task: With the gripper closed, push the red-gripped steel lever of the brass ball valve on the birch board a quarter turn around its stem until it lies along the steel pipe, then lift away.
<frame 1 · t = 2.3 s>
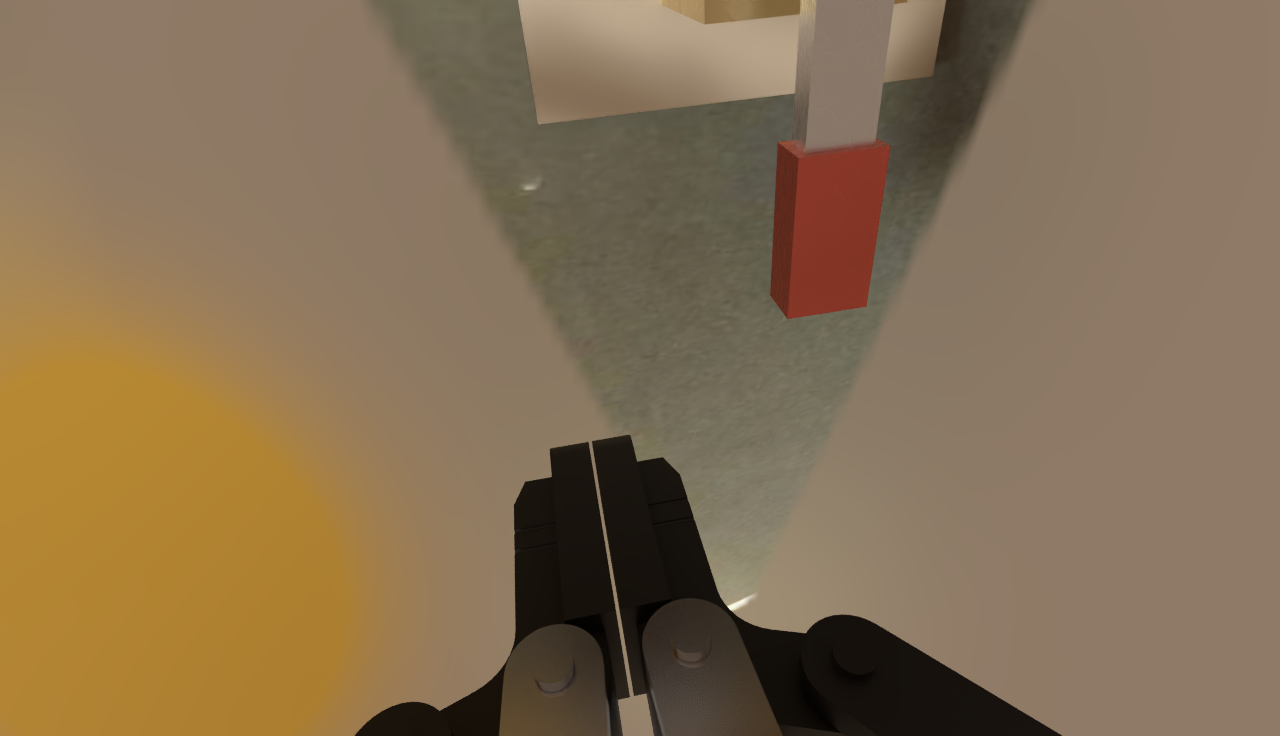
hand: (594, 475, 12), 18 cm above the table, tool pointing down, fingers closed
lever: (837, 98, 17), point 10 cm above the table, hinge at 0.0°
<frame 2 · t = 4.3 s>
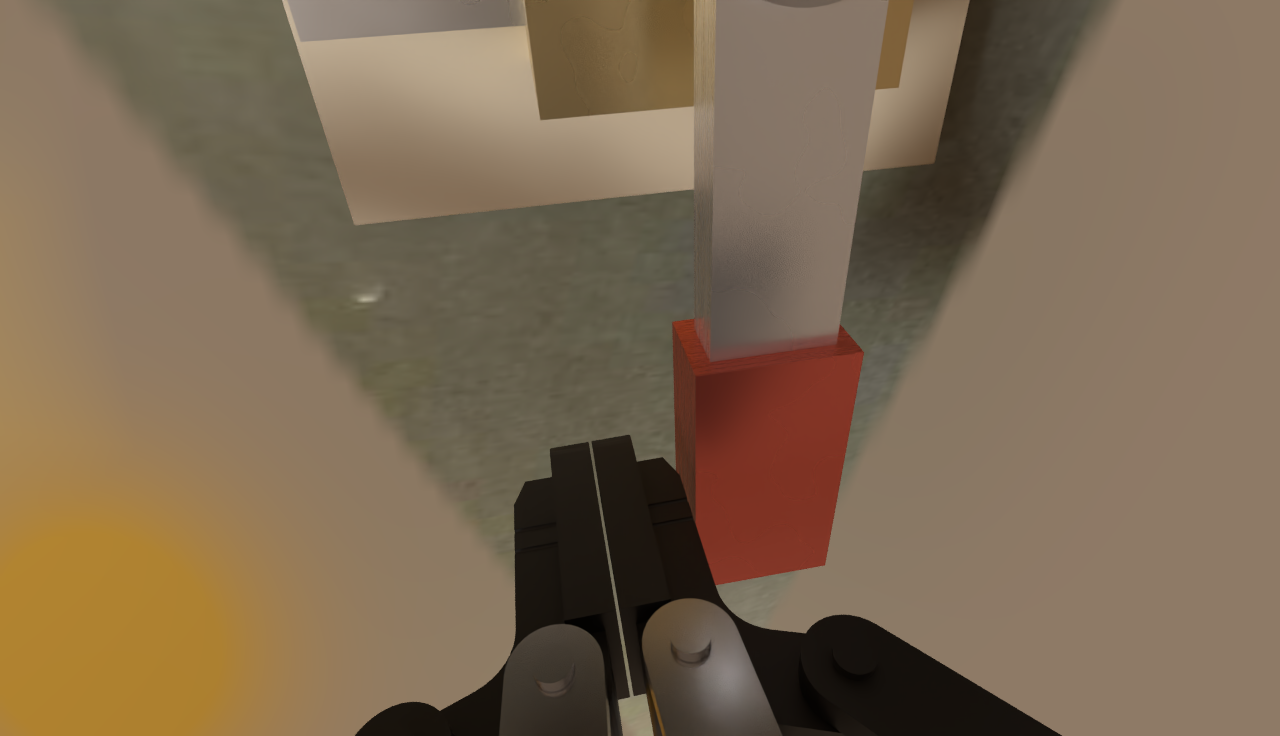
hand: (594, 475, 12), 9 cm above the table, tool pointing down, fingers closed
lever: (768, 267, 9), point 10 cm above the table, hinge at 0.2°, touching gripper
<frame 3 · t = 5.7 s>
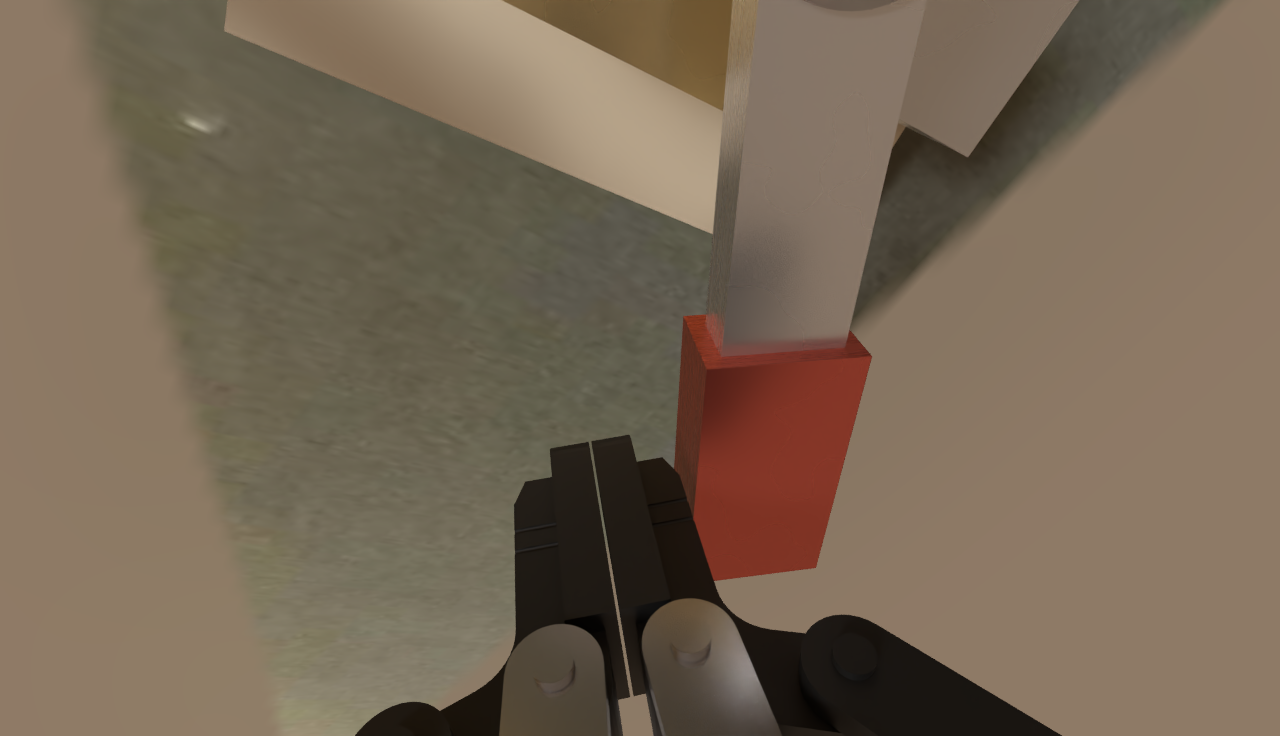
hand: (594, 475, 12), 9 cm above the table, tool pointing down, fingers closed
lever: (784, 266, 9), point 10 cm above the table, hinge at 24.8°, touching gripper
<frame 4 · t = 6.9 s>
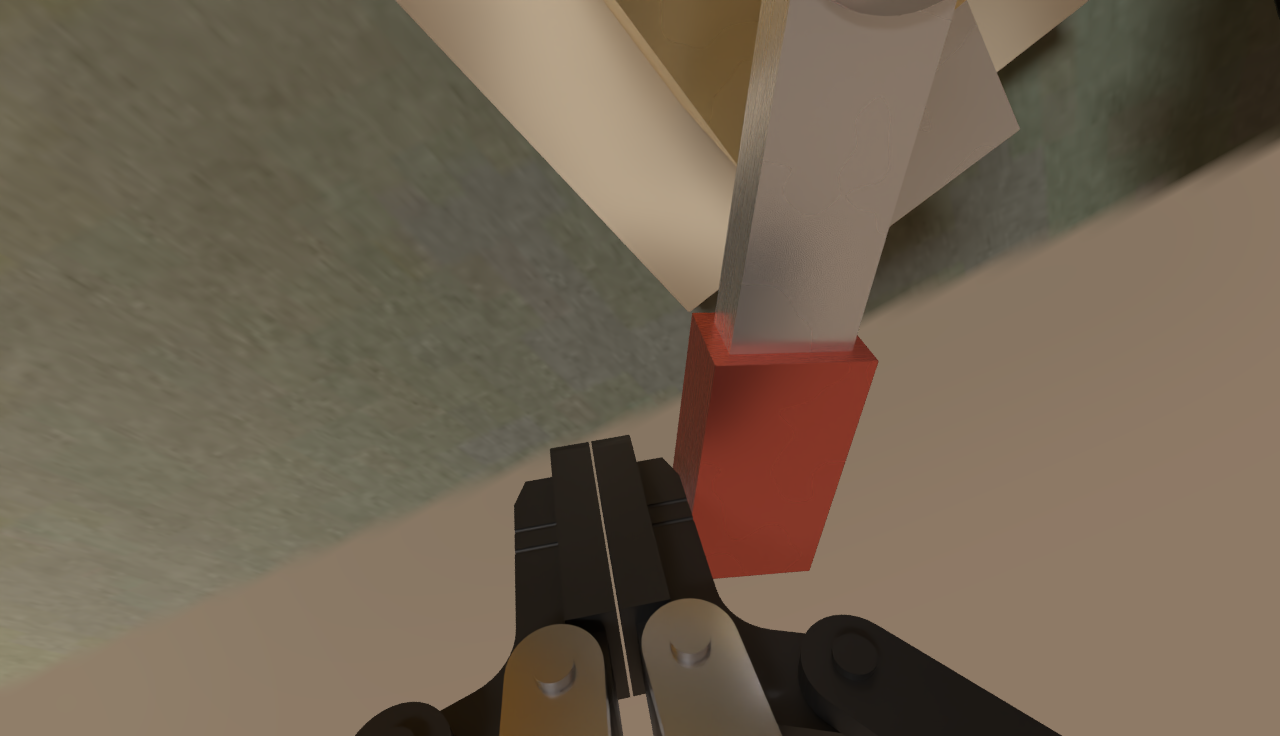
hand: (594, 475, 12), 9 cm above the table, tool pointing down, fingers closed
lever: (796, 267, 9), point 10 cm above the table, hinge at 46.8°, touching gripper
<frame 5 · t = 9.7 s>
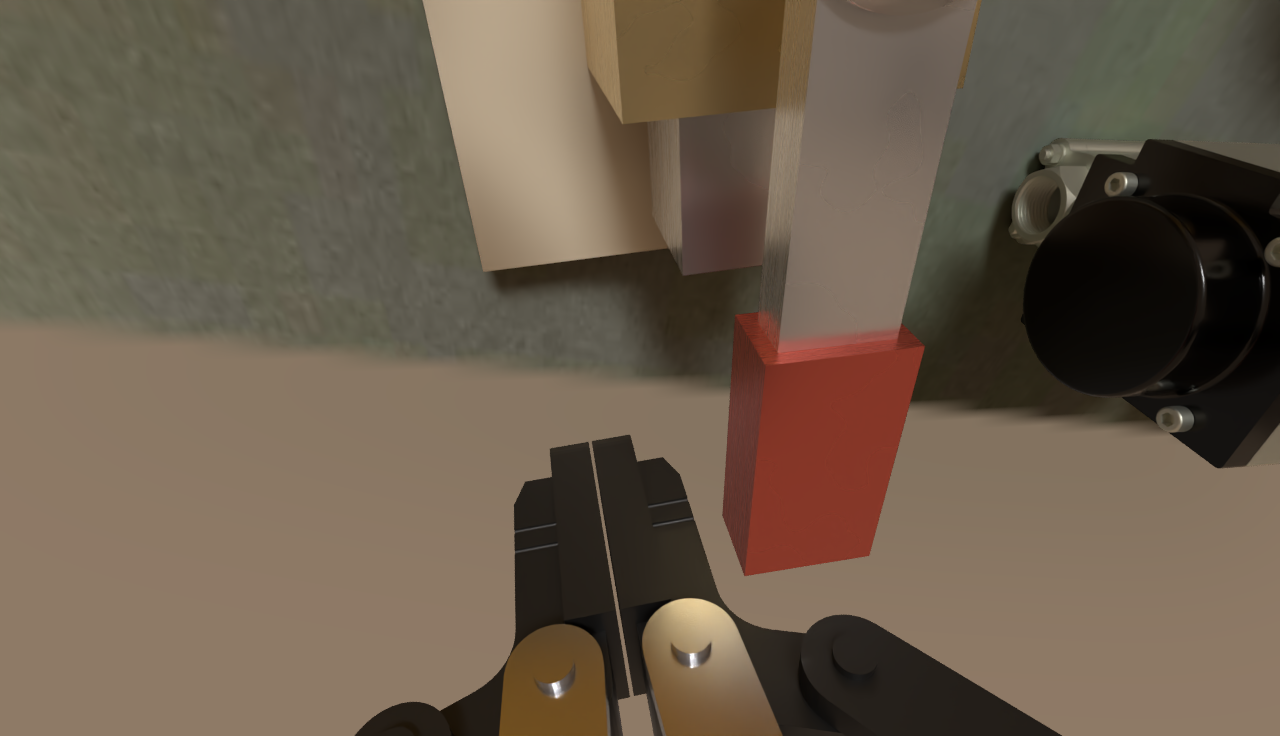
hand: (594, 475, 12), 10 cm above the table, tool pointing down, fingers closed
lever: (836, 262, 10), point 10 cm above the table, hinge at 88.1°
pneumatic valve: (1072, 174, 21), on the table
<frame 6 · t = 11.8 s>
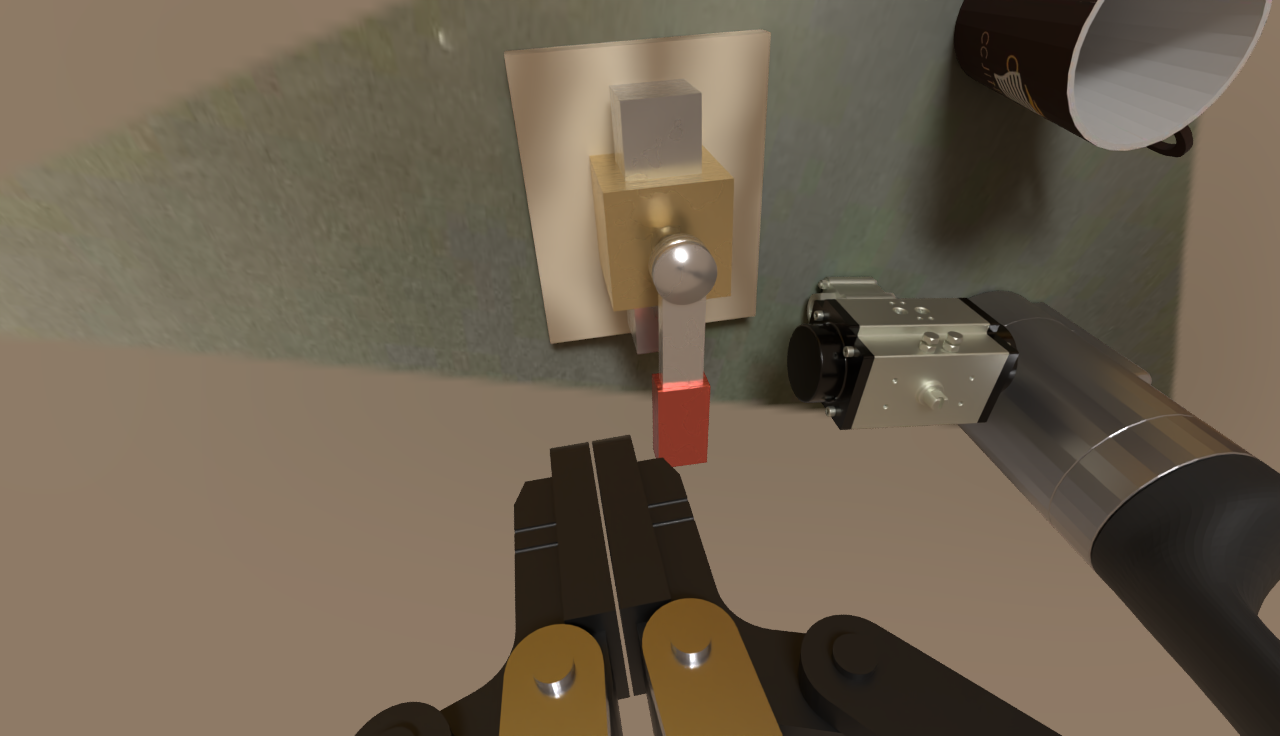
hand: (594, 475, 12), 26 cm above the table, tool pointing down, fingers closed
mounting board: (643, 196, 36), on the table
valve: (661, 230, 32), on the mounting board, point 5 cm above the table
lever: (681, 359, 31), point 10 cm above the table, hinge at 88.2°
pneumatic valve: (840, 290, 42), on the table
coffee mug: (1009, 47, 35), on the table
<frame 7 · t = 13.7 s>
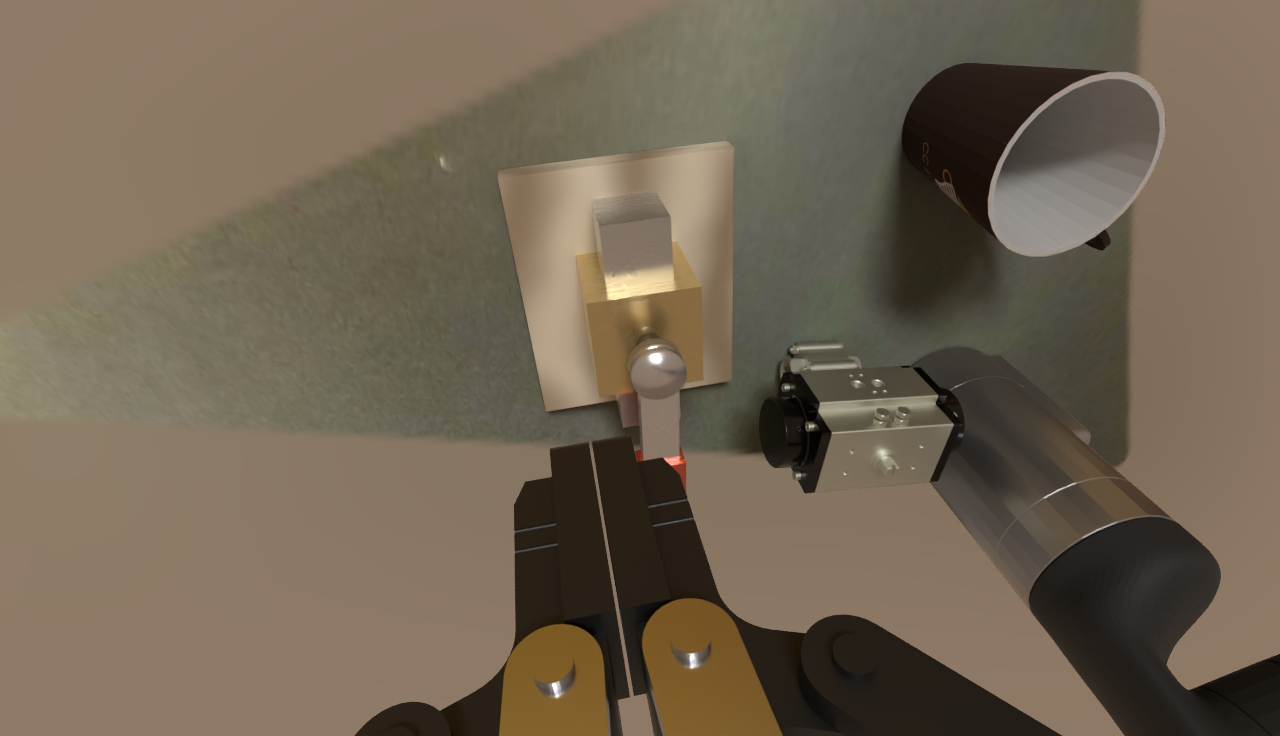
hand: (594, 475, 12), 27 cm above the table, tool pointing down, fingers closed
mounting board: (626, 282, 40), on the table
valve: (641, 323, 36), on the mounting board, point 5 cm above the table
lever: (659, 440, 35), point 10 cm above the table, hinge at 88.2°
pneumatic valve: (810, 352, 46), on the table
coffee mug: (953, 143, 39), on the table
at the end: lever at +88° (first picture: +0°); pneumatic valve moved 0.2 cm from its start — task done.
